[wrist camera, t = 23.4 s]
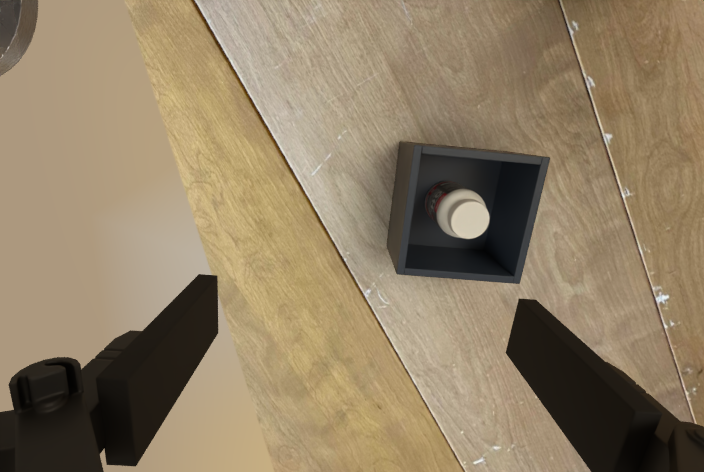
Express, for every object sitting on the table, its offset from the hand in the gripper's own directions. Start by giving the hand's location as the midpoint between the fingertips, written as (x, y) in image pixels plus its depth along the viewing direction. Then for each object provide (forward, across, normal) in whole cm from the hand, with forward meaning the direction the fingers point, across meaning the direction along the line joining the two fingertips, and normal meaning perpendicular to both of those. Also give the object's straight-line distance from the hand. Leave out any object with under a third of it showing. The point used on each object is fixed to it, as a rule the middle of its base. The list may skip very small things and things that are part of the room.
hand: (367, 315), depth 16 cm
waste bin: (+32, +12, 0) cm, 34 cm away
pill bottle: (+31, +12, 0) cm, 33 cm away
